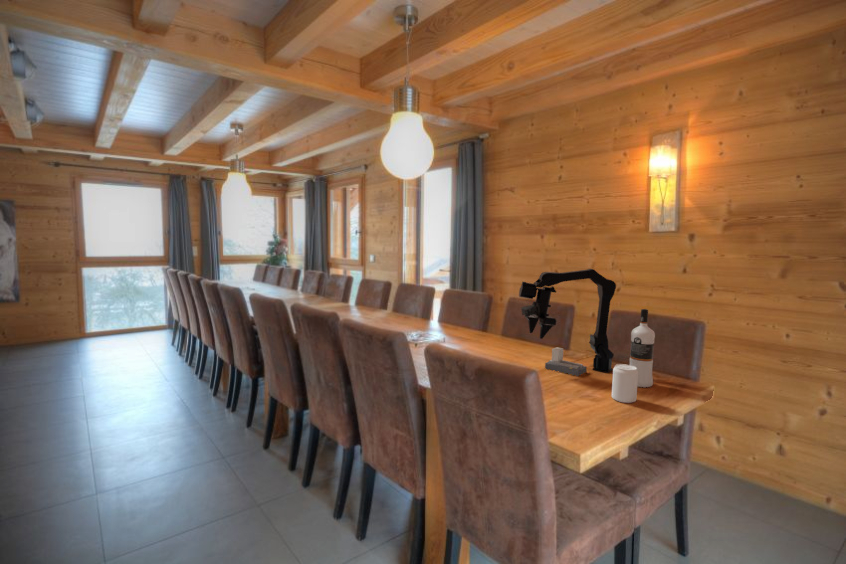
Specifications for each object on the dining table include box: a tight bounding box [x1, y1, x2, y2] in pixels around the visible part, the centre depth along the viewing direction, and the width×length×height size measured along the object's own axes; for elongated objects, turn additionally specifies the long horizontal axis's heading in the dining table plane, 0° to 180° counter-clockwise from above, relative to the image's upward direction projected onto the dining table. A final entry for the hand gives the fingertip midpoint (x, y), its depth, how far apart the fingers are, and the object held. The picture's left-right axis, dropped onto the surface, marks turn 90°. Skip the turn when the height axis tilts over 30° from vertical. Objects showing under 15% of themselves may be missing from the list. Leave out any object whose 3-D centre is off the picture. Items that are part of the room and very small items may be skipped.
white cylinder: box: [611, 363, 638, 404], centre depth 160 cm, size 8×8×12 cm
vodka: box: [629, 308, 656, 388], centre depth 176 cm, size 9×9×30 cm
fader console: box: [544, 359, 587, 377], centre depth 194 cm, size 15×8×4 cm, turn 46°
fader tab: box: [551, 346, 564, 362], centre depth 196 cm, size 3×4×6 cm
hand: (535, 335), depth 196 cm, fingers open, 9 cm apart
